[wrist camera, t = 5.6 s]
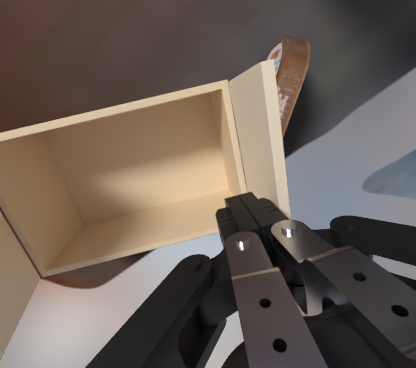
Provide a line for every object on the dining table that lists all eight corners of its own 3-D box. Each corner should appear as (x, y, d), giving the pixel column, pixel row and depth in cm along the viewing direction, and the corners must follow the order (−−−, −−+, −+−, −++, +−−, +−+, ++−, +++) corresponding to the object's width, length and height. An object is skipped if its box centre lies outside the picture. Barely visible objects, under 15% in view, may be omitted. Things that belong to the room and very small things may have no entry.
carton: (212, 87, 28) (227, 79, 19) (232, 189, 33) (252, 223, 24) (36, 129, 28) (-38, 142, 18) (82, 227, 33) (42, 277, 23)
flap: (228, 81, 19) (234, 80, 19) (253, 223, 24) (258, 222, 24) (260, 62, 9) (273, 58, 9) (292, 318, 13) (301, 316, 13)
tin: (249, 168, 33) (270, 188, 25) (228, 163, 32) (243, 182, 24) (287, 52, 28) (328, 31, 20) (263, 43, 28) (296, 19, 20)
